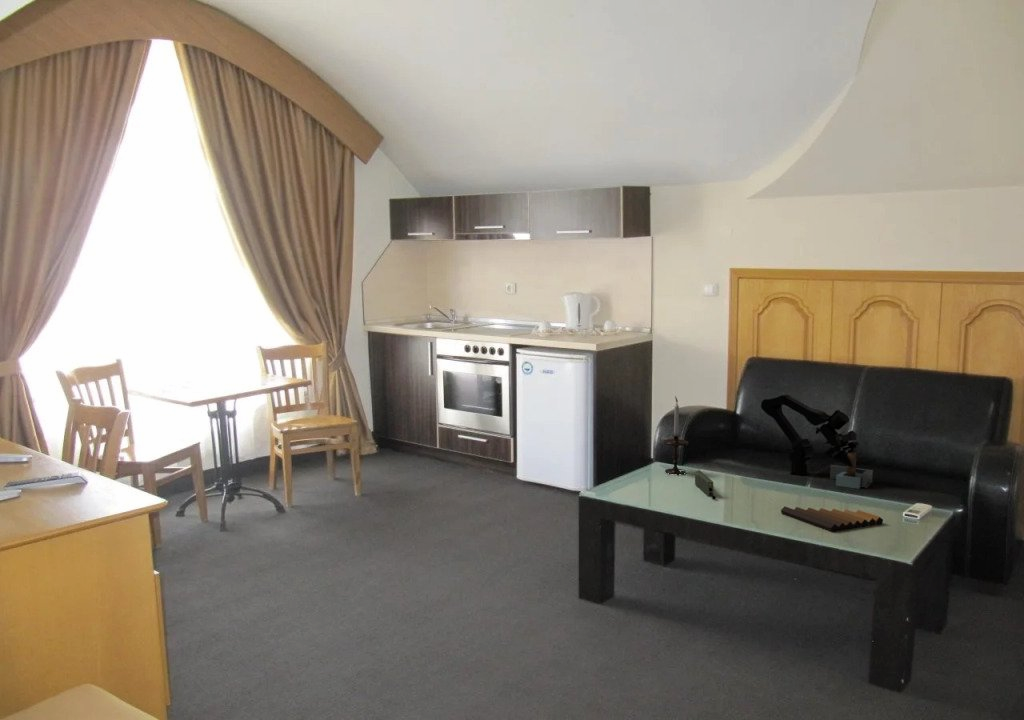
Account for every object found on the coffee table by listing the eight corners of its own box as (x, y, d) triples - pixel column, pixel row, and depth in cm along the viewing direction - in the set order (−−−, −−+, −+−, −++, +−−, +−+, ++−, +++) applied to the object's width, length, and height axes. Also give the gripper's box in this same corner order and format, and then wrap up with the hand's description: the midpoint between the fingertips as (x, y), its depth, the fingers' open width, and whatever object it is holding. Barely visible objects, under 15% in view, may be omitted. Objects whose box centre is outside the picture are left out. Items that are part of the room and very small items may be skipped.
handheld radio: (702, 485, 369) (718, 500, 344) (694, 485, 369) (710, 501, 344) (701, 470, 368) (718, 484, 343) (694, 470, 368) (710, 484, 343)
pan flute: (780, 515, 325) (830, 534, 302) (780, 506, 324) (831, 524, 302) (830, 508, 335) (882, 525, 312) (831, 499, 335) (883, 516, 312)
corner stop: (825, 482, 374) (825, 468, 373) (831, 478, 382) (831, 464, 381) (866, 488, 364) (867, 474, 363) (872, 483, 372) (872, 470, 371)
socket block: (835, 485, 369) (836, 475, 369) (842, 481, 377) (842, 471, 376) (859, 489, 363) (859, 478, 363) (865, 484, 371) (865, 474, 371)
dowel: (846, 483, 369) (847, 453, 367) (845, 481, 372) (847, 452, 371) (855, 484, 368) (856, 454, 366) (854, 482, 371) (856, 452, 370)
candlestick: (659, 473, 389) (660, 396, 386) (669, 469, 398) (670, 393, 395) (681, 476, 383) (683, 398, 380) (691, 472, 392) (693, 395, 389)
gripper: (832, 427, 365) (855, 457, 357) (856, 422, 376) (879, 451, 369) (815, 442, 372) (837, 472, 364) (838, 437, 383) (861, 466, 376)
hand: (854, 465), depth 368 cm, fingers open, 4 cm apart
